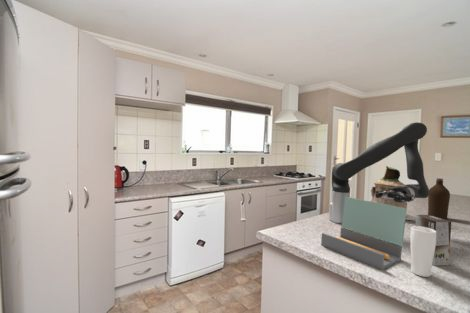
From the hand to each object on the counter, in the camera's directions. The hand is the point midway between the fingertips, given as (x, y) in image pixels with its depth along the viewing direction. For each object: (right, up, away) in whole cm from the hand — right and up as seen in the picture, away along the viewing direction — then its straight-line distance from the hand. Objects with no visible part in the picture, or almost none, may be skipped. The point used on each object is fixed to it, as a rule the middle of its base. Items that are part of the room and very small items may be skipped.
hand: (386, 197), depth 107 cm
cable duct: (-18, -20, -12) cm, 29 cm away
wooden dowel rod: (-18, -19, -12) cm, 29 cm away
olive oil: (+62, -21, +46) cm, 80 cm away
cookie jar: (+31, -20, +48) cm, 61 cm away
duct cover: (-11, -8, -7) cm, 16 cm away
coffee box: (+6, -21, -17) cm, 27 cm away
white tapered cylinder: (-6, -21, -27) cm, 35 cm away
